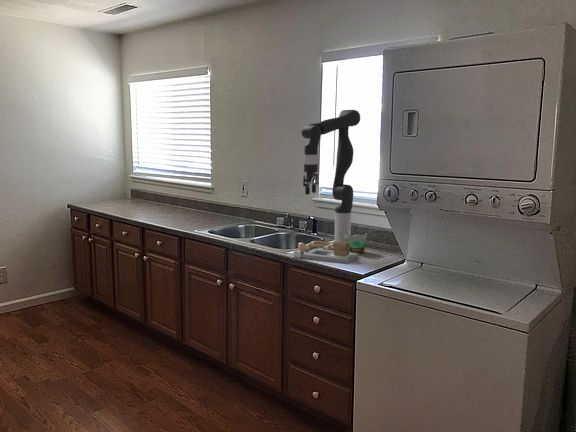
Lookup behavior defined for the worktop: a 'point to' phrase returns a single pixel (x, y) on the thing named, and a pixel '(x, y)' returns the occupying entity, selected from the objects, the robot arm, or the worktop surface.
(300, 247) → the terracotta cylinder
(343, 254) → the walnut cube
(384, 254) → the worktop surface
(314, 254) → the grey tray
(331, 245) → the tan curved piece
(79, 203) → the worktop surface
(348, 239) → the food container
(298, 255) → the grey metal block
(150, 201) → the worktop surface
